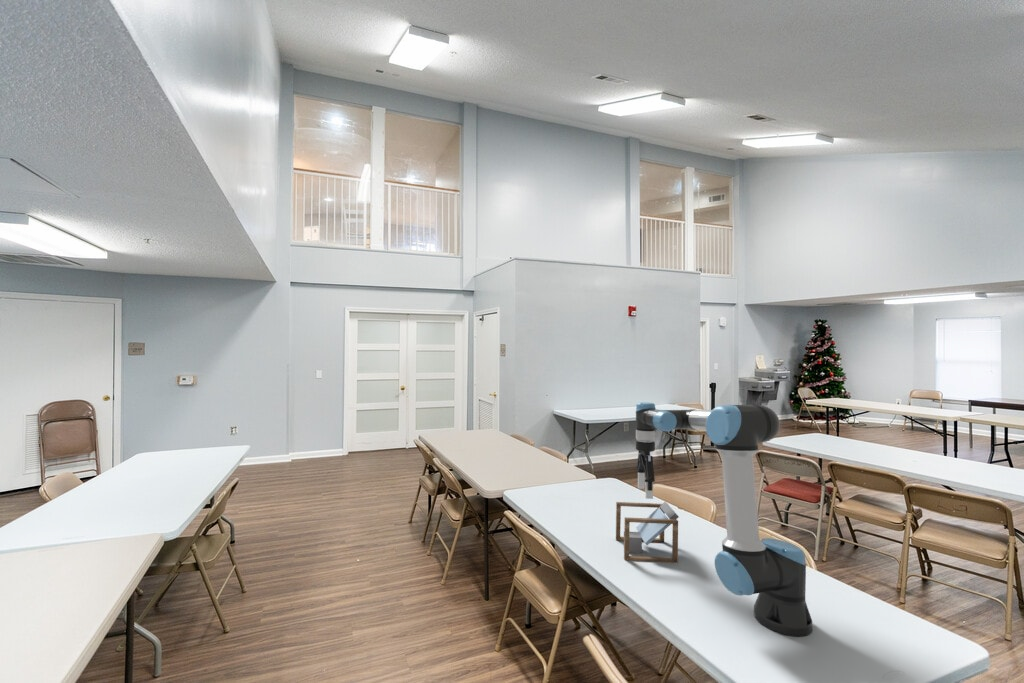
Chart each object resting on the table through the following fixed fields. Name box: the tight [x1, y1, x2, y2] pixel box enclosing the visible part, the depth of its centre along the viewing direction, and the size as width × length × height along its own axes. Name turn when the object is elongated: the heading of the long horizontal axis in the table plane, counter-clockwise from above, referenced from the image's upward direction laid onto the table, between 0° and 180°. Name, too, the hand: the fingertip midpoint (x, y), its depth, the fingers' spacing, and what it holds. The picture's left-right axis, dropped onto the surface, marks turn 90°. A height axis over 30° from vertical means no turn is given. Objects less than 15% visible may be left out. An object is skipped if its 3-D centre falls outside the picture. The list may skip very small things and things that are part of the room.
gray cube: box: [629, 531, 643, 554], centre depth 185 cm, size 6×6×6 cm
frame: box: [615, 501, 679, 563], centre depth 185 cm, size 20×20×16 cm
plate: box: [635, 501, 680, 546], centre depth 184 cm, size 16×17×2 cm
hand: (645, 493), depth 185 cm, fingers open, 13 cm apart
